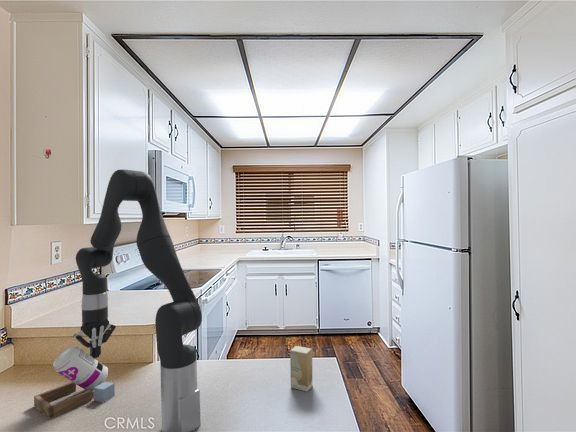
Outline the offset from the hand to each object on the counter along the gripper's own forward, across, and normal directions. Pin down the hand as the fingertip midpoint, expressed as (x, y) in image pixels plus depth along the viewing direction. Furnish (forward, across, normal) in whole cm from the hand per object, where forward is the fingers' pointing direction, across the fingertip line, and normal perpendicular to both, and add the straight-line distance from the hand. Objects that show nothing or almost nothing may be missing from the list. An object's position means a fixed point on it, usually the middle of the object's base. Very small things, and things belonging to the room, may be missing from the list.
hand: (95, 357), depth 107 cm
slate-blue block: (+10, -2, -9) cm, 14 cm away
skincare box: (+9, +37, -59) cm, 70 cm away
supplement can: (+8, +1, -1) cm, 8 cm away
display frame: (+10, -10, -1) cm, 14 cm away
